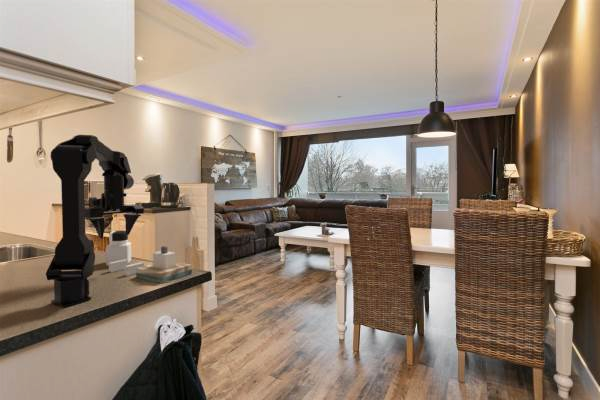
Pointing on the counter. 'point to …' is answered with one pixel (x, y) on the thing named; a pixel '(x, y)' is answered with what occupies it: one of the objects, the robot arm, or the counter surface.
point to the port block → (163, 272)
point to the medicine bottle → (118, 247)
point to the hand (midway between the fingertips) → (114, 236)
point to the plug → (164, 259)
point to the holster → (124, 267)
